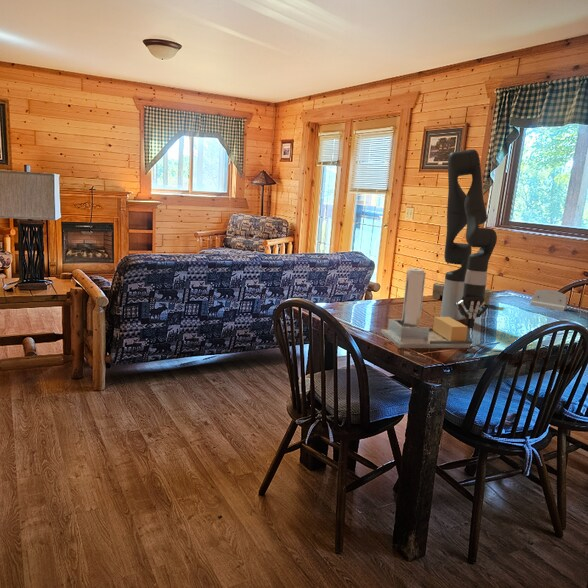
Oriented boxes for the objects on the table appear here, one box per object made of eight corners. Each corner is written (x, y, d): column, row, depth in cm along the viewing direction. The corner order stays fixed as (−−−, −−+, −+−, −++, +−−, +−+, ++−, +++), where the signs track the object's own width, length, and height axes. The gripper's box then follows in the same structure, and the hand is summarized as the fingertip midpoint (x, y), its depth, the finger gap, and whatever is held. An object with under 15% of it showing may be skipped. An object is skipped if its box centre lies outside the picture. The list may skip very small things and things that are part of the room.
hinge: (529, 304, 262) (533, 286, 262) (531, 306, 266) (535, 288, 266) (564, 311, 252) (569, 292, 252) (565, 312, 255) (570, 294, 256)
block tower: (430, 300, 263) (489, 307, 249) (432, 284, 261) (491, 291, 248) (434, 298, 270) (491, 305, 256) (435, 282, 268) (493, 288, 255)
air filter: (418, 339, 180) (426, 271, 175) (400, 337, 182) (407, 269, 177) (417, 334, 187) (425, 268, 182) (400, 332, 188) (407, 267, 183)
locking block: (447, 330, 194) (448, 316, 193) (465, 341, 181) (467, 326, 180) (432, 330, 193) (434, 316, 192) (450, 341, 180) (452, 326, 179)
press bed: (448, 333, 197) (450, 317, 196) (472, 347, 180) (474, 330, 178) (380, 333, 191) (382, 316, 190) (399, 348, 174) (401, 330, 173)
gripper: (486, 281, 189) (479, 325, 193) (453, 280, 187) (447, 324, 190) (497, 284, 182) (490, 330, 186) (464, 283, 180) (457, 330, 183)
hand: (469, 327), depth 188 cm, fingers closed
